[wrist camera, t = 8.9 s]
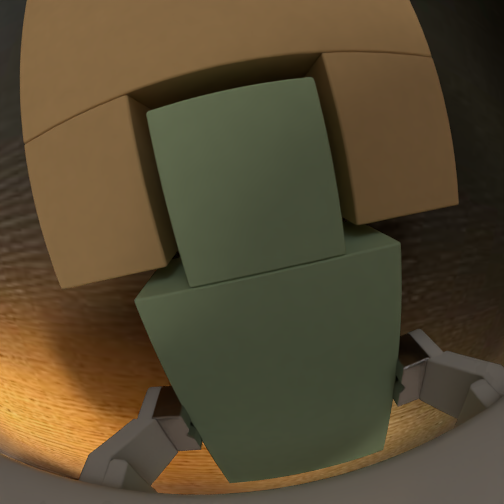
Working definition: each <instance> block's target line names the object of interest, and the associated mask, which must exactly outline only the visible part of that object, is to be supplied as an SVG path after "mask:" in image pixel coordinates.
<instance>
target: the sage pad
mask: <svg viewBox="0 0 504 504" xmlns="http://www.w3.org/2000/svg"><path fill="white" fill-rule="evenodd" d="M146 116H147V121H148V126H149V131H150V136H151V141H152V146H153V150H154V155H155V159H156V164H157V168H158V173H159V177H160V181H161V185H162V189H163V193H164V197H165V201H166V205H167V209H168V213H169V217H170V221H171V224H172V228H173V232H174V235H175V239H176V243H177V246H178V250H179V253H180V257H178V258H174V259H172V260H171V261H170V262H169V264H168V265H167V266H166V267H163V268H158V269H157V270H156V271H155V273H154V274H153V275H152V277H151V278H150V279H149V281H148V282H147V283H146V285H145V286H144V287H143V289H142V290H141V292H140V293H139V294H138V296H137V297H136V298H135V304H136V307H137V309H138V312H139V314H140V317H141V319H142V322H143V324H144V326H145V329H146V331H147V334H148V336H149V338H150V341H151V343H152V345H153V347H154V350H155V352H156V354H157V356H158V358H159V360H160V363H161V365H162V367H163V369H164V371H165V373H166V375H167V377H168V379H169V381H170V383H171V385H172V387H173V389H174V391H175V393H176V395H177V397H178V399H179V401H180V402H181V404H182V405H183V406H184V407H185V409H186V411H187V413H188V414H189V416H190V418H191V422H192V424H193V426H194V427H196V429H197V430H198V432H199V434H200V436H201V437H202V441H203V443H204V444H205V446H206V448H207V449H208V451H209V453H210V454H211V456H212V457H213V459H214V460H215V462H216V463H217V465H218V466H219V468H220V469H221V471H222V472H223V474H224V475H225V477H226V478H227V480H228V481H229V483H237V482H247V481H256V480H264V479H271V478H278V477H284V476H289V475H295V474H300V473H305V472H309V471H314V470H318V469H322V468H326V467H330V466H334V465H338V464H341V463H345V462H348V461H351V460H355V459H358V458H361V457H364V456H367V455H370V454H373V453H376V452H378V451H381V450H383V447H384V443H385V439H386V434H387V429H388V424H389V419H390V413H391V407H392V401H393V398H392V396H393V388H394V383H395V380H396V375H395V372H396V364H397V359H398V353H399V340H400V324H401V293H402V274H401V244H400V242H398V241H396V240H395V239H393V238H391V237H389V236H387V235H385V234H383V233H381V232H379V231H377V230H376V229H374V228H372V227H370V226H368V225H366V224H363V225H356V224H354V223H352V222H350V221H346V222H342V216H341V209H340V202H339V196H338V189H337V183H336V177H335V172H334V166H333V161H332V156H331V151H330V146H329V141H328V136H327V131H326V127H325V122H324V118H323V113H322V109H321V105H320V101H319V97H318V93H317V89H316V85H315V81H314V79H313V77H305V78H296V79H288V80H280V81H273V82H266V83H260V84H254V85H249V86H243V87H238V88H233V89H228V90H224V91H219V92H215V93H211V94H206V95H202V96H198V97H195V98H191V99H187V100H183V101H180V102H176V103H173V104H170V105H166V106H163V107H160V108H157V109H154V110H151V111H148V112H147V114H146Z"/></svg>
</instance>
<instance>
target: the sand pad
mask: <svg viewBox="0 0 504 504" xmlns="http://www.w3.org/2000/svg"><path fill="white" fill-rule="evenodd" d="M430 57H431V53H430V50H429V47H428V44H427V41H426V39H425V36H424V33H423V31H422V28H421V26H420V23H419V21H418V19H417V16H416V14H415V12H414V9H413V7H412V5H411V3H410V1H409V0H27V3H26V9H25V16H24V23H23V32H22V42H21V58H20V103H21V119H22V131H23V140H24V143H25V154H26V161H27V167H28V173H29V178H30V184H31V189H32V193H33V198H34V202H35V206H36V211H37V215H38V218H39V222H40V226H41V229H42V233H43V236H44V240H45V243H46V246H47V249H48V253H49V256H50V259H51V262H52V264H53V267H54V270H55V273H56V276H57V278H58V281H59V284H60V286H61V288H62V289H68V288H72V287H77V286H81V285H86V284H90V283H95V282H99V281H104V280H108V279H113V278H117V277H122V276H127V275H131V274H136V273H140V272H145V271H149V270H154V269H158V268H163V267H166V266H167V265H168V264H169V262H170V261H171V260H172V258H173V257H174V255H175V254H176V253H177V251H178V246H177V243H176V239H175V235H174V232H173V228H172V224H171V221H170V217H169V213H168V209H167V205H166V201H165V197H164V193H163V189H162V185H161V181H160V177H159V173H158V168H157V164H156V159H155V155H154V150H153V146H152V141H151V136H150V131H149V126H148V121H147V116H146V114H147V112H148V111H151V110H154V109H157V108H160V107H163V106H166V105H170V104H173V103H176V102H180V101H183V100H187V99H191V98H195V97H198V96H202V95H206V94H211V93H215V92H219V91H224V90H228V89H233V88H238V87H243V86H249V85H254V84H260V83H266V82H273V81H280V80H288V79H296V78H305V77H313V79H314V81H315V85H316V89H317V93H318V97H319V101H320V105H321V109H322V113H323V118H324V122H325V127H326V131H327V136H328V141H329V146H330V151H331V156H332V161H333V166H334V172H335V177H336V183H337V189H338V196H339V202H340V209H341V216H342V217H343V218H345V219H346V220H348V221H350V222H352V223H354V224H356V225H363V224H368V223H373V222H378V221H382V220H387V219H392V218H397V217H401V216H406V215H411V214H416V213H420V212H425V211H430V210H435V209H440V208H444V207H449V206H454V205H457V204H458V203H459V200H458V186H457V174H456V165H455V157H454V150H453V143H452V137H451V131H450V125H449V120H448V115H447V111H446V106H445V102H444V98H443V94H442V90H441V86H440V82H439V78H438V75H437V72H436V68H435V65H434V62H433V59H432V58H430Z"/></svg>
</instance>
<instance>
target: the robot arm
mask: <svg viewBox="0 0 504 504" xmlns="http://www.w3.org/2000/svg"><path fill="white" fill-rule="evenodd" d="M395 375H396V380H395V383H394V388H393V396H392V398H393V399H394V401H395V403H396V404H397V406H401V405H403V404H406V403H409V402H411V401H414V400H416V399H420V400H422V401H423V402H425V403H427V404H429V405H431V406H433V407H435V408H437V409H439V410H441V411H443V412H445V413H447V414H449V415H451V416H453V417H455V418H457V421H456V424H455V426H454V428H453V429H452V430H450V431H448V432H446V433H444V434H442V435H440V436H438V437H436V438H434V439H432V440H430V441H428V442H426V443H424V444H422V445H420V446H418V447H416V448H413V449H411V450H409V451H407V452H404V453H402V454H399V455H397V456H394V457H392V458H389V459H387V460H384V461H381V462H379V463H376V464H373V465H370V466H367V467H364V468H361V469H358V470H355V471H352V472H348V473H345V474H341V475H338V476H334V477H330V478H326V479H322V480H318V481H314V482H309V483H305V484H300V485H294V486H289V487H283V488H277V489H270V490H262V491H254V492H244V493H230V494H205V495H189V494H164V493H158V492H157V491H156V490H155V489H154V488H152V487H151V484H152V483H153V482H154V481H155V480H156V478H157V477H158V476H159V475H160V474H161V472H162V471H163V470H164V469H165V468H166V466H167V465H168V464H169V463H170V461H171V460H172V459H173V458H174V457H175V455H176V454H177V453H178V451H187V450H201V446H202V437H201V436H200V434H199V432H198V430H197V429H196V427H194V426H193V424H192V422H191V418H190V416H189V414H188V413H187V411H186V409H185V407H184V406H183V405H182V404H181V402H180V401H179V399H178V397H177V395H176V393H175V391H174V389H173V387H172V386H160V387H150V388H149V389H148V390H147V393H146V395H145V398H144V401H143V404H142V406H141V409H140V412H139V415H138V418H137V419H133V420H132V421H130V422H129V423H128V424H127V425H126V426H124V427H123V428H122V429H121V430H119V431H118V432H117V433H116V434H114V435H113V436H112V437H111V438H109V439H108V440H107V441H106V442H104V443H103V444H102V445H100V446H99V447H98V448H97V449H95V450H94V451H93V452H91V453H90V454H89V455H88V458H87V460H86V463H85V465H84V468H83V470H82V473H81V475H80V478H79V480H75V479H71V478H67V477H63V476H60V475H56V474H53V473H50V472H47V471H44V470H41V469H38V468H35V467H32V466H29V465H27V464H24V463H21V462H19V461H16V460H14V459H12V458H9V457H7V456H5V455H3V454H0V504H504V367H503V366H502V365H500V364H496V363H492V362H488V361H484V360H480V359H476V358H472V357H468V356H464V355H461V354H457V353H453V352H450V351H445V352H443V351H442V350H441V349H440V348H439V347H438V346H437V345H436V344H435V343H434V342H433V341H432V340H431V339H430V338H429V337H428V336H427V335H426V334H425V333H424V332H423V331H422V330H421V329H416V330H414V331H411V332H409V333H407V334H404V335H402V336H400V340H399V353H398V359H397V364H396V372H395Z"/></svg>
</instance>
